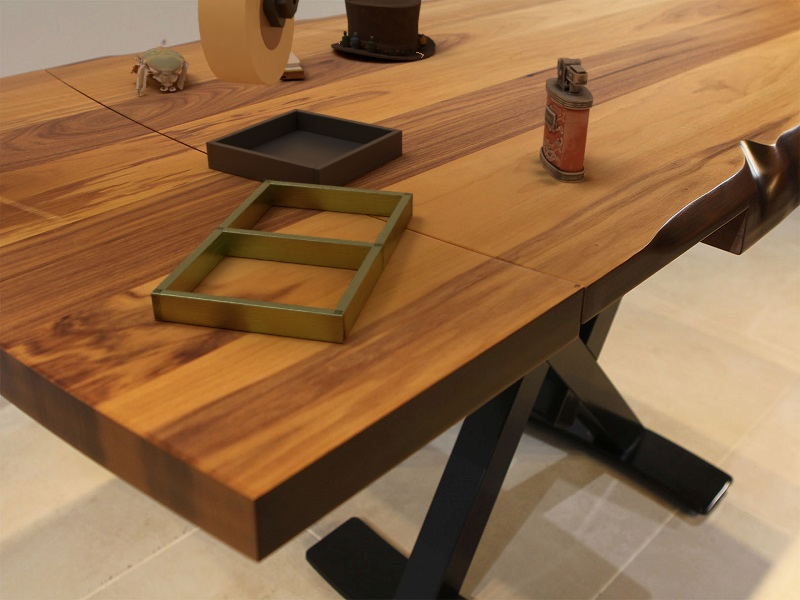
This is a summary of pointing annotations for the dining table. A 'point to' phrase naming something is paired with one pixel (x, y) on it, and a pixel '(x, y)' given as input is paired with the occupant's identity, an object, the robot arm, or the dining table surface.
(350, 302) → the rack
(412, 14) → the top hat
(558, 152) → the lighter
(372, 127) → the tray
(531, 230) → the dining table surface
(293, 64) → the harmonica
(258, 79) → the tape
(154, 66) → the crab toy
